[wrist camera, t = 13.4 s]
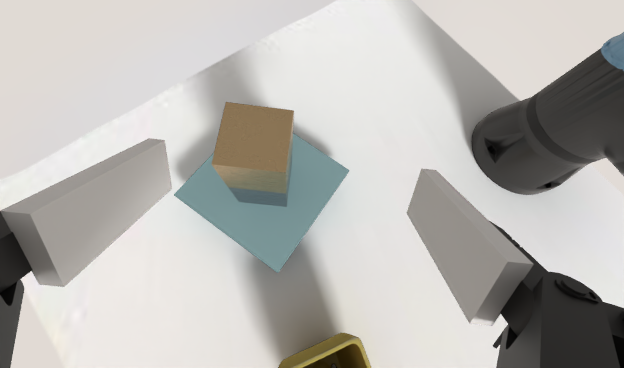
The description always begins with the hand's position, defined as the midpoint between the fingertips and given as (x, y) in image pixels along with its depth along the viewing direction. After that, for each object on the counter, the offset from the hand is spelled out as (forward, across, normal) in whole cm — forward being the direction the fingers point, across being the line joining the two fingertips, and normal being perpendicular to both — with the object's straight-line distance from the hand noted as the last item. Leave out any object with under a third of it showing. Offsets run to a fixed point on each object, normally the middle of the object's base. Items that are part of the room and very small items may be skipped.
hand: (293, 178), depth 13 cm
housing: (+17, -4, -9) cm, 20 cm away
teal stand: (+20, -4, -13) cm, 24 cm away
